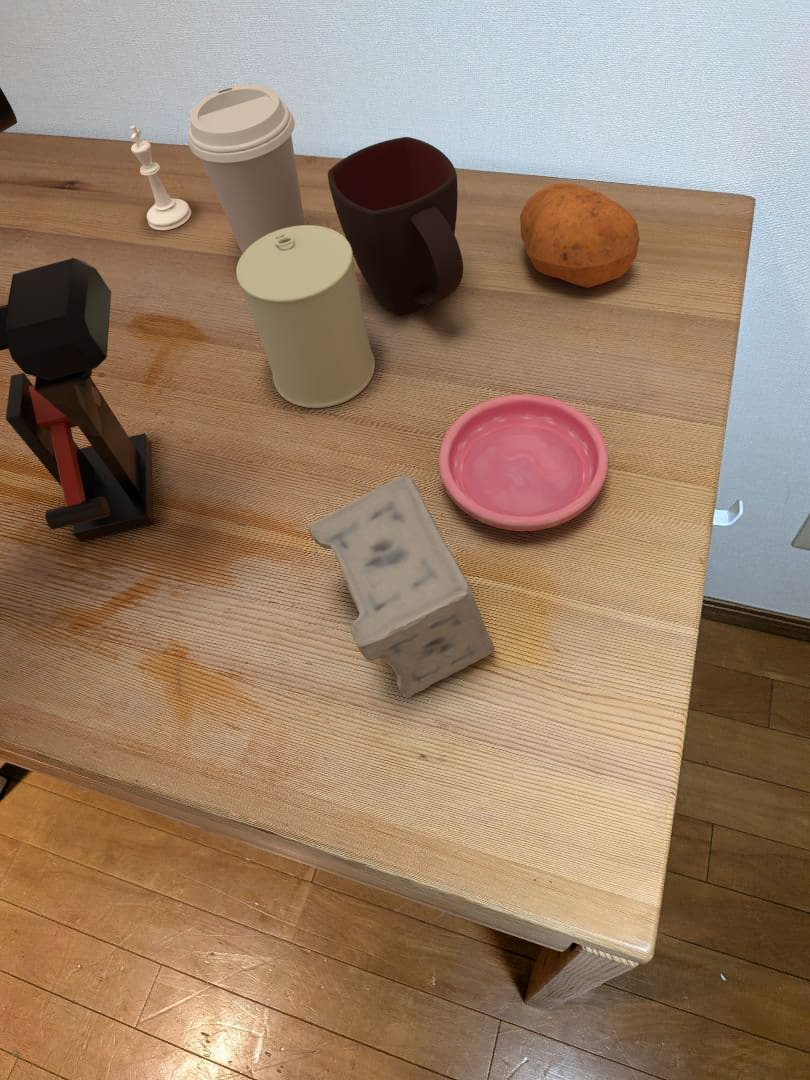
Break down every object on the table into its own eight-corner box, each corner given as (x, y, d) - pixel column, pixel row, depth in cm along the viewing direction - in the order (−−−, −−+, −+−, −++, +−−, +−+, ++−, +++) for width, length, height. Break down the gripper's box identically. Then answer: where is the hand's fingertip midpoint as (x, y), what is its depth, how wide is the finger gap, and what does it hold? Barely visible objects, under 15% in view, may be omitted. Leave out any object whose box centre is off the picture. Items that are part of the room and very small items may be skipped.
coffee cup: (327, 225, 78) (294, 74, 66) (320, 283, 73) (282, 132, 61) (240, 233, 79) (191, 86, 67) (226, 291, 74) (170, 143, 62)
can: (352, 322, 70) (326, 205, 60) (391, 384, 65) (370, 266, 55) (261, 358, 68) (219, 244, 58) (293, 423, 63) (253, 311, 53)
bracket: (153, 524, 59) (83, 424, 49) (79, 542, 59) (-6, 445, 49) (150, 441, 64) (86, 336, 54) (82, 458, 64) (6, 355, 54)
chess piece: (142, 231, 82) (101, 141, 74) (156, 204, 84) (118, 115, 76) (183, 230, 81) (147, 139, 73) (196, 203, 84) (162, 112, 75)
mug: (424, 246, 75) (411, 126, 65) (502, 320, 67) (502, 198, 57) (338, 287, 73) (311, 169, 63) (409, 367, 65) (392, 249, 55)
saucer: (621, 438, 58) (626, 410, 56) (580, 566, 52) (584, 542, 50) (472, 406, 62) (470, 378, 59) (418, 522, 56) (413, 498, 54)
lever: (114, 518, 53) (100, 513, 51) (59, 531, 53) (43, 527, 51) (86, 386, 55) (71, 375, 52) (33, 399, 54) (16, 389, 52)
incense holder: (334, 593, 54) (300, 510, 45) (439, 550, 55) (426, 460, 46) (382, 712, 48) (355, 644, 40) (498, 662, 49) (496, 584, 41)
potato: (554, 317, 67) (559, 244, 61) (500, 250, 73) (500, 177, 67) (645, 284, 68) (659, 209, 62) (584, 220, 74) (591, 146, 68)
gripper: (29, 86, 36) (171, 322, 50) (-314, 186, 38) (-86, 390, 51) (1, 226, 30) (171, 451, 44) (-404, 338, 32) (-120, 524, 45)
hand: (28, 449), depth 46 cm, fingers open, 9 cm apart
